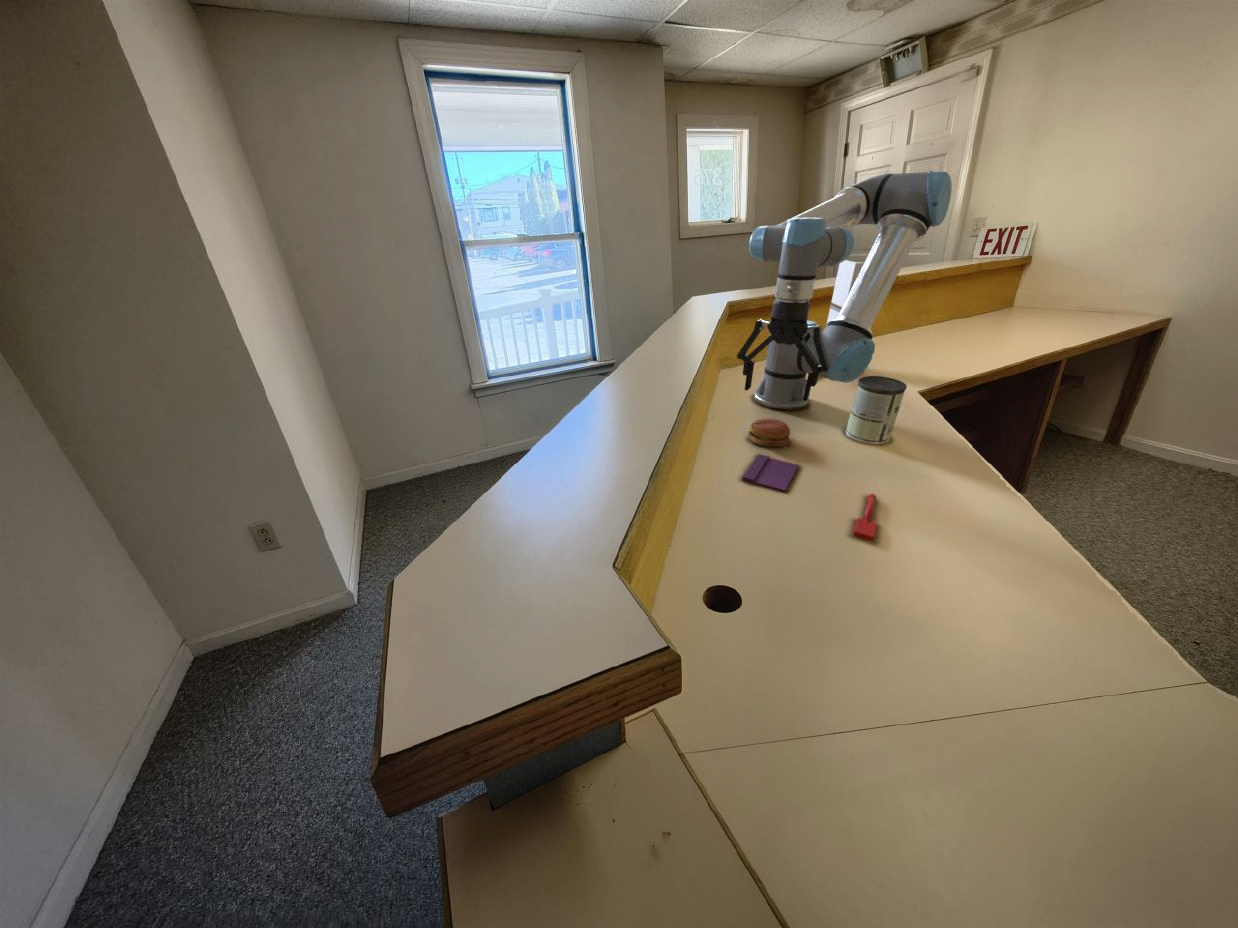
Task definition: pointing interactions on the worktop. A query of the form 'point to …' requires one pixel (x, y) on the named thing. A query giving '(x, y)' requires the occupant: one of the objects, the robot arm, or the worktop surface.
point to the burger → (769, 432)
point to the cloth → (770, 473)
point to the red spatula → (866, 522)
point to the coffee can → (875, 409)
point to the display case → (843, 286)
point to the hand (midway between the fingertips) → (775, 393)
